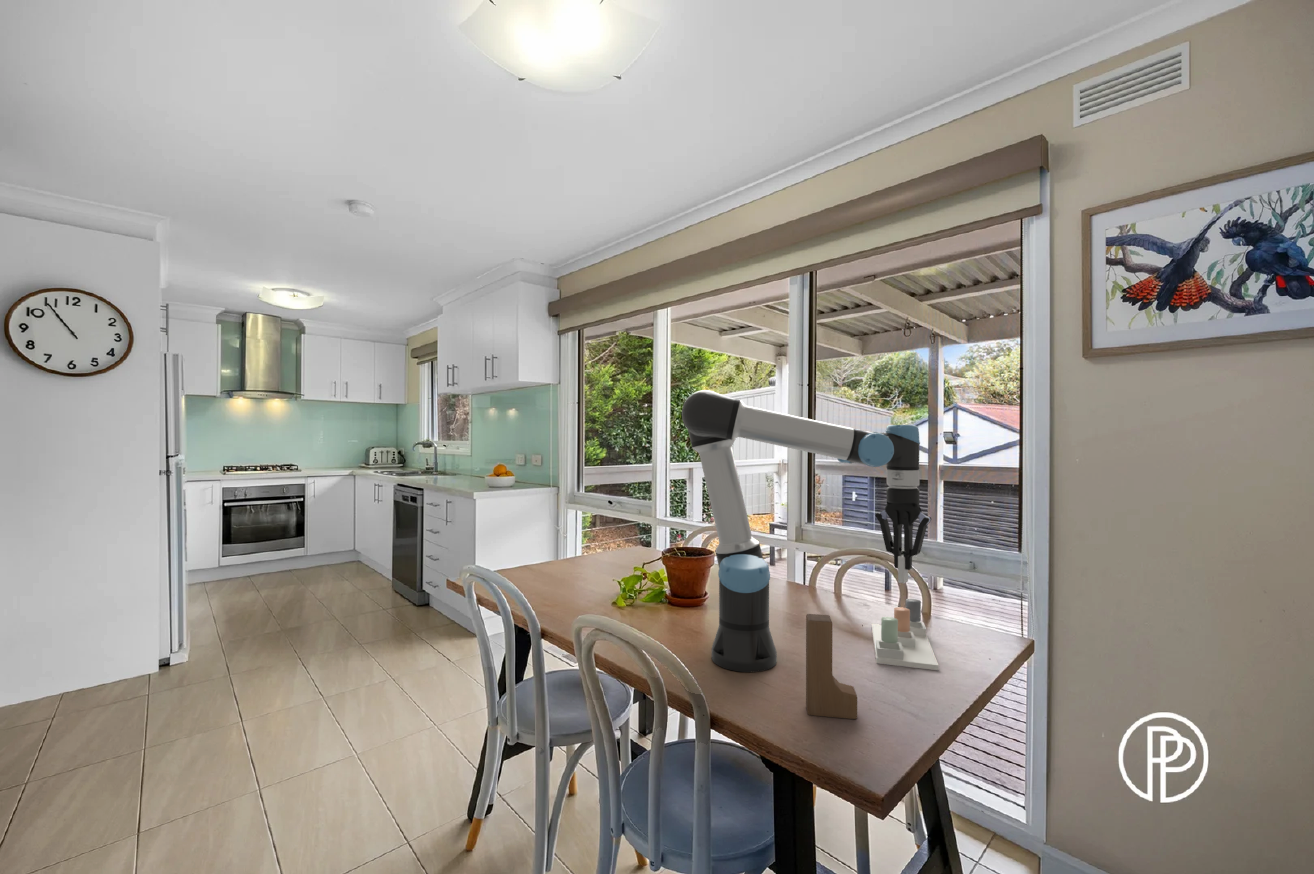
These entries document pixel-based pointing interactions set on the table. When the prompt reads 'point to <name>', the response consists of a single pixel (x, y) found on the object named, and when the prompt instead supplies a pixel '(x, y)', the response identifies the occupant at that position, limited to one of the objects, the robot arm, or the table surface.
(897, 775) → the table surface
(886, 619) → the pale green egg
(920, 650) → the button board
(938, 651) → the table surface
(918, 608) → the charcoal plunger
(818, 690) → the wooden block
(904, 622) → the terracotta plunger
